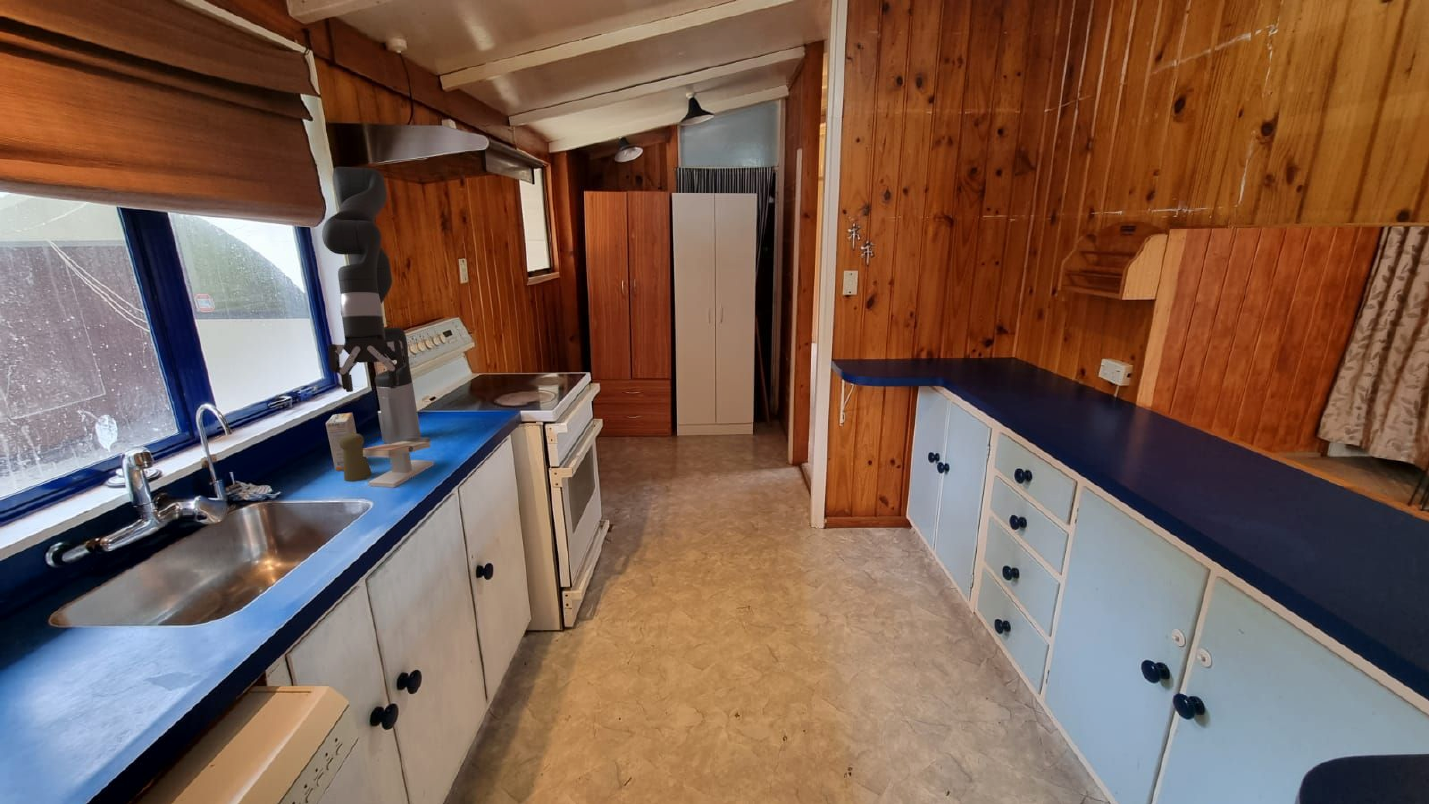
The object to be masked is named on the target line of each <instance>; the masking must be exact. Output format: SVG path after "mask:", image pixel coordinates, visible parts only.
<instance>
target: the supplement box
mask: <svg viewBox="0 0 1429 804" xmlns="http://www.w3.org/2000/svg"><path fill="white" fill-rule="evenodd" d="M325 426H326V427H325V428H326V432H327V437H328V441H329V445H330V451H331V457H332V460H333V461H332V462H333V466H334V469H335V471H336V472H339V471H344V460H343V449H342V448H341V447H340V446H339V439H340V438H341V437H342V436H344V435H347V434H357V430H356V423H355V419H354V414H353V412H347V413H337V414H336V413H335V414H332V415H331V417H330V418H329V419H328V420H327V421H326V422H325Z"/></svg>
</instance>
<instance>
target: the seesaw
mask: <svg viewBox="0 0 1429 804" xmlns="http://www.w3.org/2000/svg"><path fill="white" fill-rule="evenodd" d="M431 446H432V445H431V438H430V437H425V436H424V437H423V436H421V437H403V441H402V442H397V443H393V444H387V443H386V444H385V443H383V444H379V445H375V446H370V447H365V448H363V456H365V457H366V458H368V457H369V458H388V459H390V457H394V456H398V455H401V454H405V453H409V454H410V453H412V452H416V451H421V450H424V449H429V448H431Z"/></svg>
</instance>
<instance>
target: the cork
mask: <svg viewBox="0 0 1429 804" xmlns="http://www.w3.org/2000/svg"><path fill="white" fill-rule="evenodd" d="M364 443H365V440H364V436H363V435H361V433H356V434H347V435H344V436H342V437H341V438H340V439H339V446H340V447H341V448H342V449H343V460H344V470H343V480H344V481H345V482H349V483H350V482H358V481H363V480H366V479H369V478H370V477H372V476H373V473H372V469H371V466H370V463H369V461H368V457H365V456H363V449H364V447H363V446H364Z"/></svg>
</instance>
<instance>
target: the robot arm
mask: <svg viewBox="0 0 1429 804" xmlns="http://www.w3.org/2000/svg"><path fill="white" fill-rule="evenodd" d="M332 171H333V172H332V182H333V183H332V184H333V188H334V192H335V197H336V201H337V205H338V212H337V213H335V214H333V215H332V216H330V217H329V218H328V219H327V220H326V221H325V222H324V225H323V227H322V230H321V238H322V241H323V244H324V246H325V247H326V248H327V249H328V251H330V252H331V253H333V254H336V255H342V256H343V255H347V257H348V262H349V264H346V265H344V266H341V267H339V269H338V270H337V277H338V278H337V279H338V285H339V292H340V293H339V294H340V316H341V318H342V319H341V321H342V327H343V328H342V329H343V335H344V343H343V344H335V343H329V344H328V347H327V349H328V351H327V352H328V353H327V354H328V366H329V368H328V369H329V371H330V372H331V373H336V374H339V375H340V377H341V385H342V389H343V390H345V391H346V392H347V393H351V392H352V393H353V392H354V387H353V379H352V374H350V373H351V371H352V369H353V368H354V367H355V366H356V365H357V364H358V363H361V364H362V363H369V362H370V363H381V364H382V365H383V366H385V367H386V370H385V371H382V372H380V373H378V374H377V375H376V376H375V378H374V381H375V385H376V391H377V393H376V394H377V398H378V404H379V409H380V410H378V411H377V415H378V416H377V417H378V422H379V426H380V431H381V432H380V433H381V439H382V442H383V444H385V443H386V444H393V443H397V442H402V441H403V437H422V433H421V428H420V427H421V426H420V421H419V415H418V408H417V401H416V395H415V390H414V384H413V378H412V372H411V365H410V359H409V348H408V347H409V345H408V340H407V335H406V332H405V331H404V329H403V328H401V327H385V323H384V318H383V317H384V316H383V308H382V304H383V302H384V301H385V299H386V297H387V296H388V294H389V293H390V289H391V288H392V284H393V278H392V269H391V264H390V260H389V257H388V255H387V254H386V252H385V251H384V250H383V248H382V247H381V246H382V234H381V233H382V232H381V231H380V229H379V227H378V226H377V224H376V223H375V221H376V217H377V215H378V214H380V212H381V211H382V210H383V208H384V207H385V204H386V201H387V188H386V187H387V186H386V182H385V178H384V176H383V174H382V173H381V172H380V171H379V170H378V169H373V168H370V167H369V168H366V167H354V166H353V167H352V166H351V167H350V166H336V167H335V168H333V170H332ZM343 351H345V353H347V354H348V357H347V358H346V359H345V361H344V363H343V365H342V367H341V365H340V364H341V363H340V355H341V354H342V352H343ZM393 361H396V363H394V362H393Z"/></svg>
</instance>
